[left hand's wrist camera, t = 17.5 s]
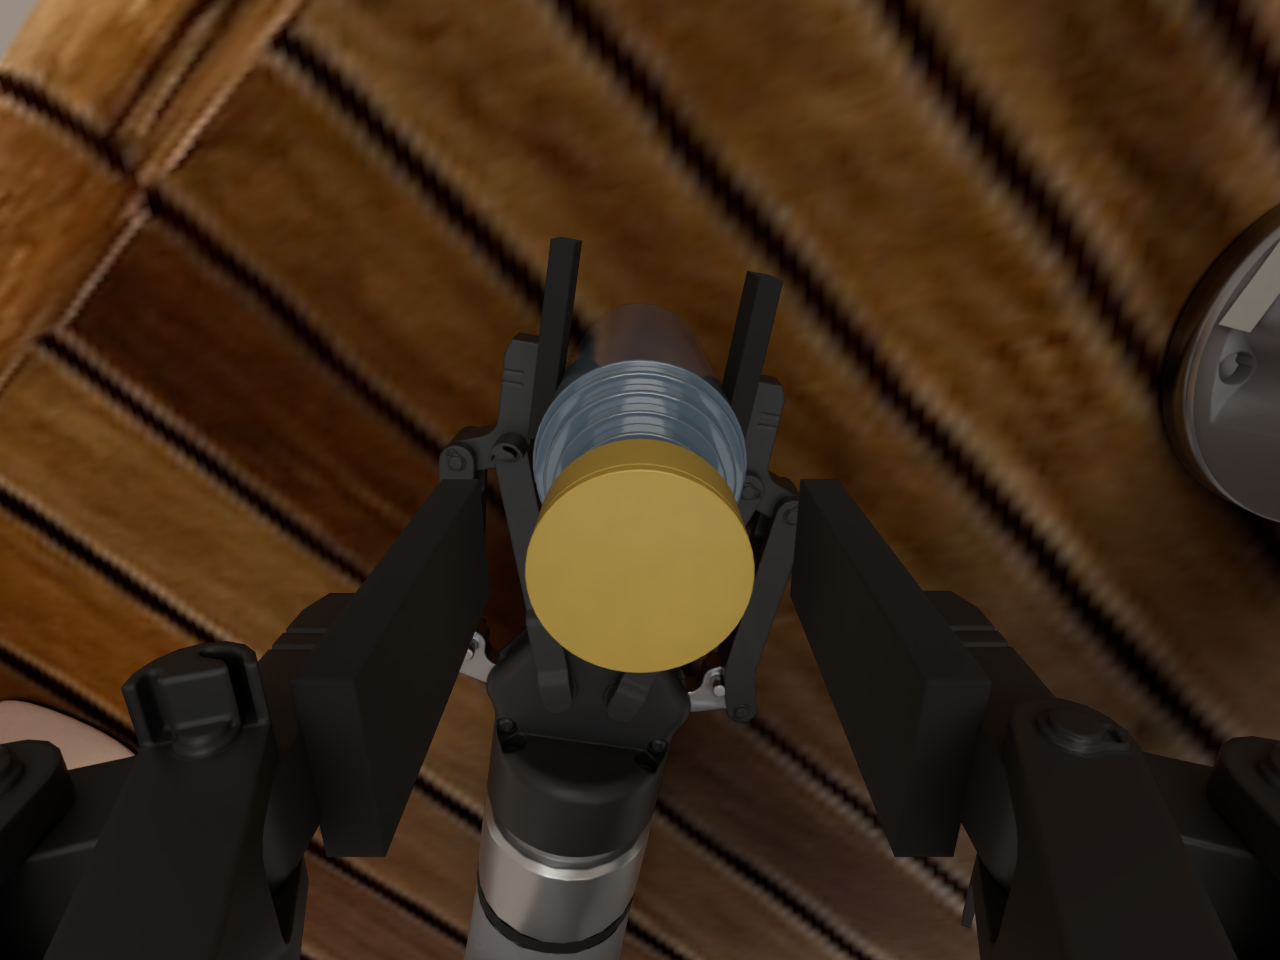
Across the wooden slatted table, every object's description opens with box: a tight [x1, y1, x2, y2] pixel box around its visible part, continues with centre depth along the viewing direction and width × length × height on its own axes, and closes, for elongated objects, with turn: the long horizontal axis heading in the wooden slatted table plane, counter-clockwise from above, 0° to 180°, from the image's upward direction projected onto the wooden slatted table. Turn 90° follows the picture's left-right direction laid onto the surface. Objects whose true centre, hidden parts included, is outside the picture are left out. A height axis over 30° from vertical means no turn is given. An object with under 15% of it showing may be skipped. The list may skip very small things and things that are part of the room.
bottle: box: [533, 303, 747, 505], centre depth 22 cm, size 6×6×18 cm
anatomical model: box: [0, 700, 135, 770], centre depth 37 cm, size 13×4×12 cm
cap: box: [525, 439, 755, 673], centre depth 14 cm, size 4×4×2 cm
